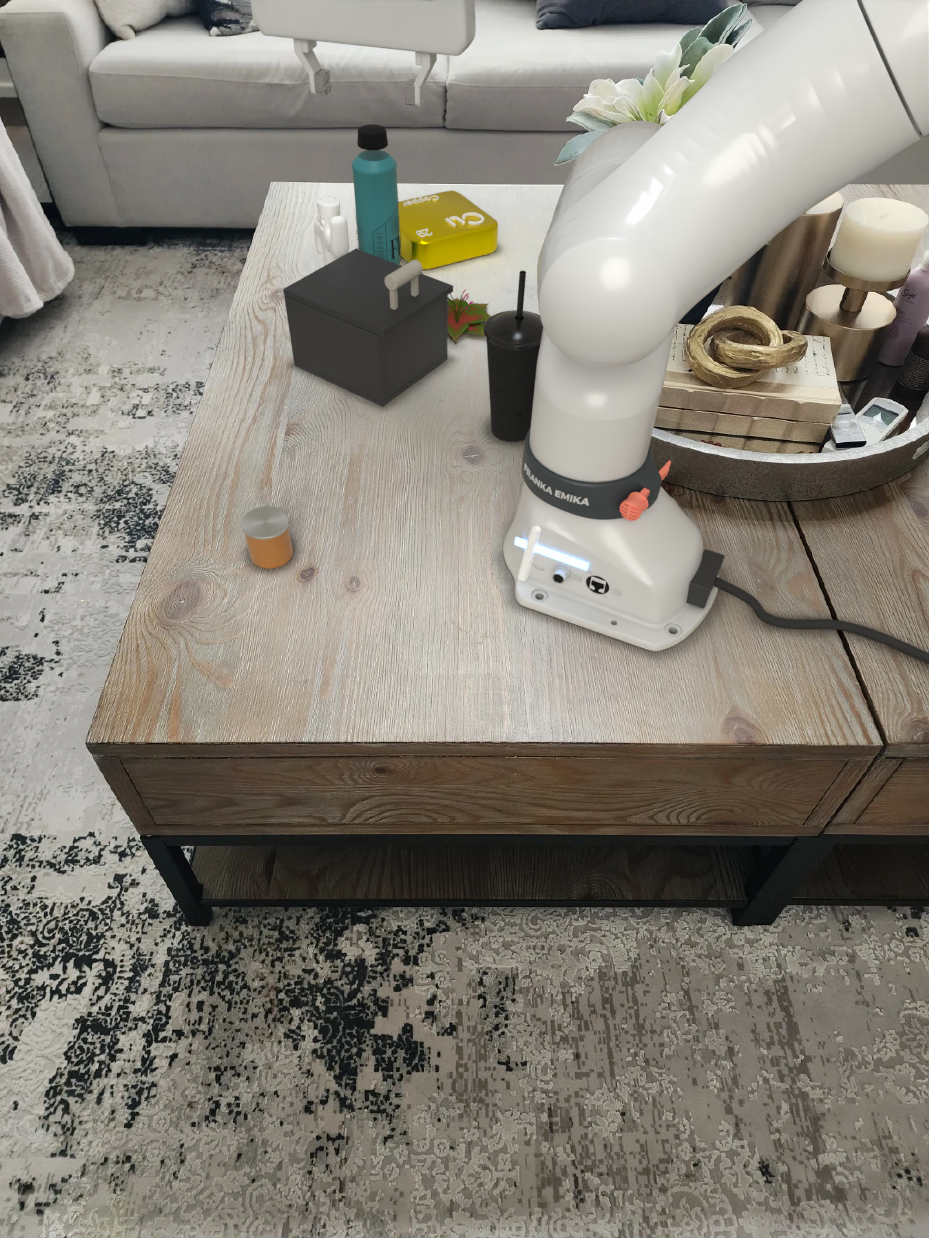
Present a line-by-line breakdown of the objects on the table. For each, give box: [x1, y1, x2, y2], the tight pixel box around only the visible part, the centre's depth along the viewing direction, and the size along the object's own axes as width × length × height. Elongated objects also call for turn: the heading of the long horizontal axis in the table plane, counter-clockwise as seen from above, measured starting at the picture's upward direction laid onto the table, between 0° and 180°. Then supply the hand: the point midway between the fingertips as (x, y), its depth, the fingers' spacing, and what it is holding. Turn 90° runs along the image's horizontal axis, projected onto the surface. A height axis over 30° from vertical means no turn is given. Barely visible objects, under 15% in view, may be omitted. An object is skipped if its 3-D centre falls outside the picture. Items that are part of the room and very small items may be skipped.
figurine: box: [302, 196, 350, 278], centre depth 116 cm, size 7×9×15 cm
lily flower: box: [448, 286, 492, 343], centre depth 118 cm, size 12×12×5 cm
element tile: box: [398, 190, 499, 271], centre depth 134 cm, size 15×15×5 cm
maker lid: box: [282, 248, 454, 337], centre depth 103 cm, size 16×14×5 cm
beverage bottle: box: [351, 123, 403, 265], centre depth 121 cm, size 6×7×20 cm
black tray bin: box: [283, 294, 449, 407], centre depth 109 cm, size 15×14×10 cm
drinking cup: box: [483, 270, 543, 443], centre depth 96 cm, size 8×8×20 cm
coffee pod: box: [240, 505, 294, 570], centre depth 87 cm, size 5×5×4 cm
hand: (367, 98), depth 80 cm, fingers open, 8 cm apart
